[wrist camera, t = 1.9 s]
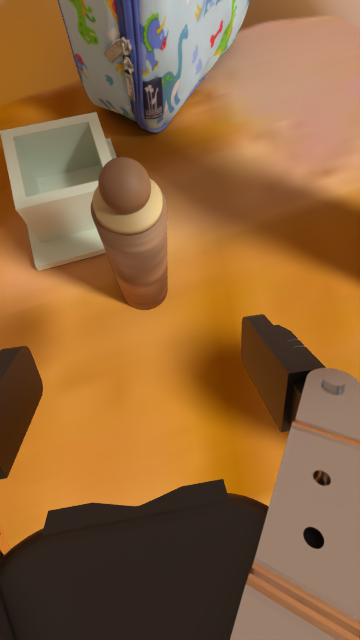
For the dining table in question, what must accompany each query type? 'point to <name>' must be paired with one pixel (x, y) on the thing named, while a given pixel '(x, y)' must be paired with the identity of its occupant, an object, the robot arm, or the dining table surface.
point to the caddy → (58, 185)
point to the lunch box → (148, 51)
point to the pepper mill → (133, 230)
